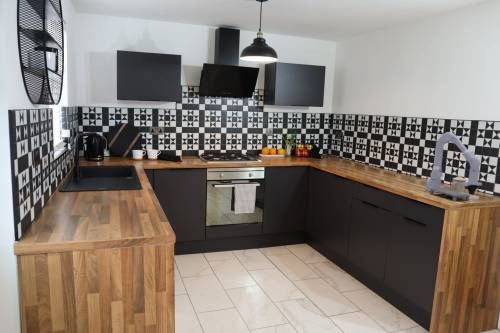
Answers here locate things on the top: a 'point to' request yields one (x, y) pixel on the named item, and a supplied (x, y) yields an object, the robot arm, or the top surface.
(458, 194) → the shelf
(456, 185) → the teacup with lid
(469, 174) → the robot arm
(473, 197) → the tray
